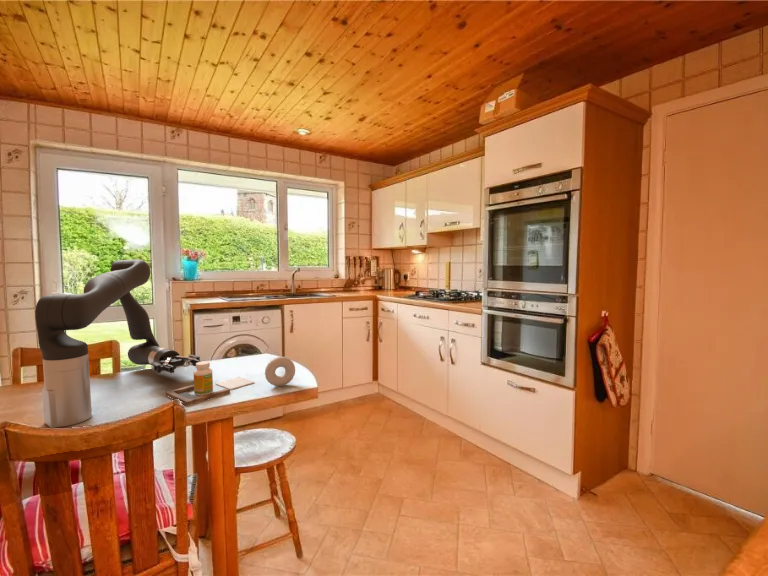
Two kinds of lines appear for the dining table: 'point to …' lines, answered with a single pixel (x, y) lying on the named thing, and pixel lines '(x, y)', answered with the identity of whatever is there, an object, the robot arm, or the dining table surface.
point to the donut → (286, 377)
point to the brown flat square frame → (191, 399)
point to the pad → (234, 383)
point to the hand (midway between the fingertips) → (186, 366)
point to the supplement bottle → (203, 379)
